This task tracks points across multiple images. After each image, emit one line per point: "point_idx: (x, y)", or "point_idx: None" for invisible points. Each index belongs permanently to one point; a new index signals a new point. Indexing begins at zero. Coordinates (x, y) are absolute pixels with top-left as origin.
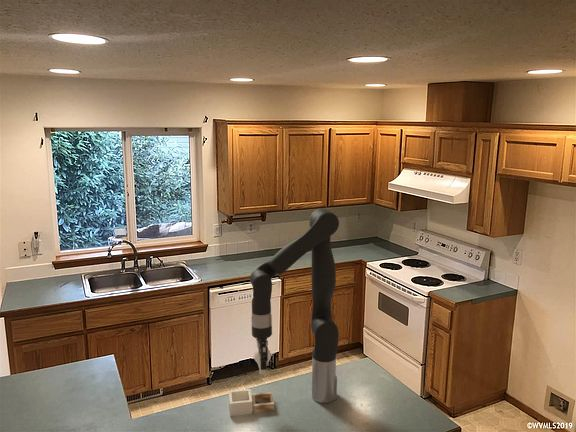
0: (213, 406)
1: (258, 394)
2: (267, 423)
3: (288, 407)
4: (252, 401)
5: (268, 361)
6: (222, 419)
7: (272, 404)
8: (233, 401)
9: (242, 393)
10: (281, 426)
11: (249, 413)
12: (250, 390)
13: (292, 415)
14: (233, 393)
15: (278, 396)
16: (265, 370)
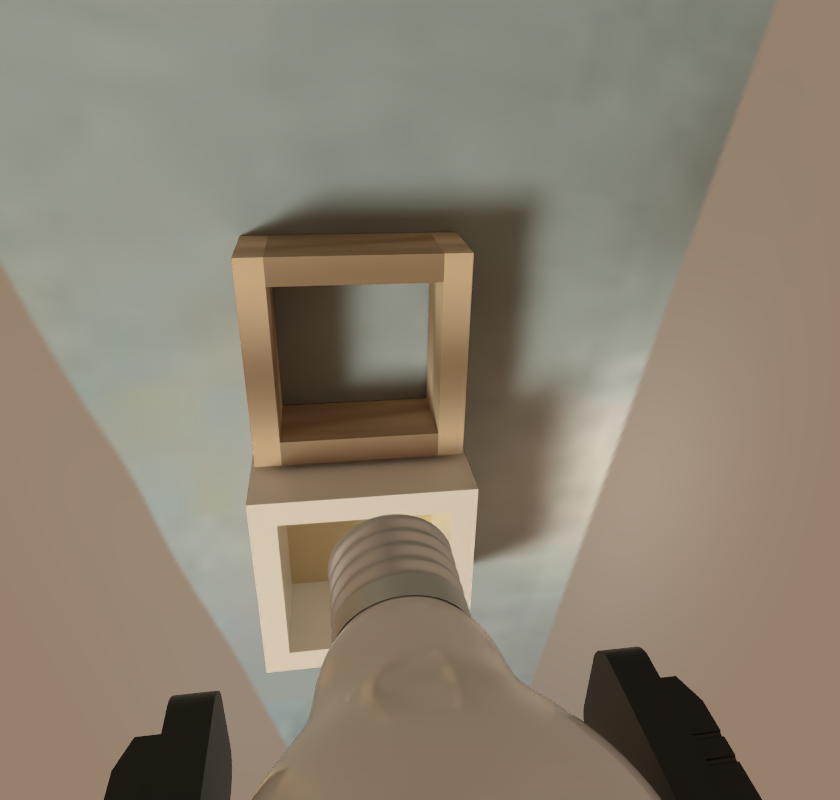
0: (310, 671)
1: (275, 402)
2: (613, 314)
3: (424, 66)
4: (381, 455)
5: (581, 720)
6: (474, 610)
7: (471, 273)
8: (292, 572)
9: (281, 554)
10: (692, 196)
11: None
12: (277, 505)
13: (571, 48)
14: (289, 627)
15: (196, 151)
16: (441, 572)
